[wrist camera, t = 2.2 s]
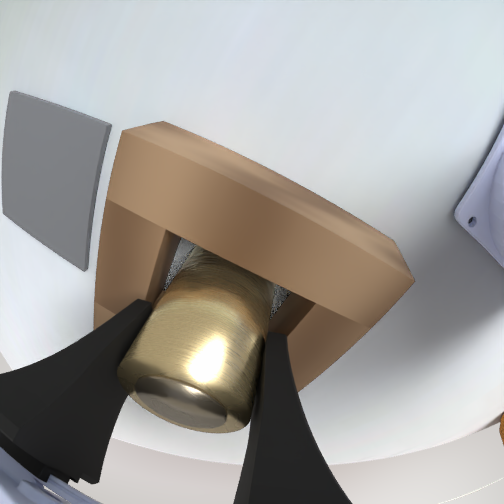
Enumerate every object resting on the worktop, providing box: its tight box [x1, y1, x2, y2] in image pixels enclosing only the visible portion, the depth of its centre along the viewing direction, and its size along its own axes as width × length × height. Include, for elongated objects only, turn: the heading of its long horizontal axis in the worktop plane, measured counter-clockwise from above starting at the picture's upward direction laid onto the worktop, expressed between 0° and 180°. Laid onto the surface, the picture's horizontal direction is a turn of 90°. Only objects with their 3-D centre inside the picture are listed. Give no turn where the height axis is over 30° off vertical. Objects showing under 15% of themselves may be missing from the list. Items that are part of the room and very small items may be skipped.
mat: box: [2, 91, 112, 272], centre depth 12 cm, size 9×9×1 cm
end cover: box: [117, 245, 276, 433], centre depth 11 cm, size 4×4×7 cm
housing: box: [94, 121, 415, 392], centre depth 12 cm, size 11×11×3 cm
